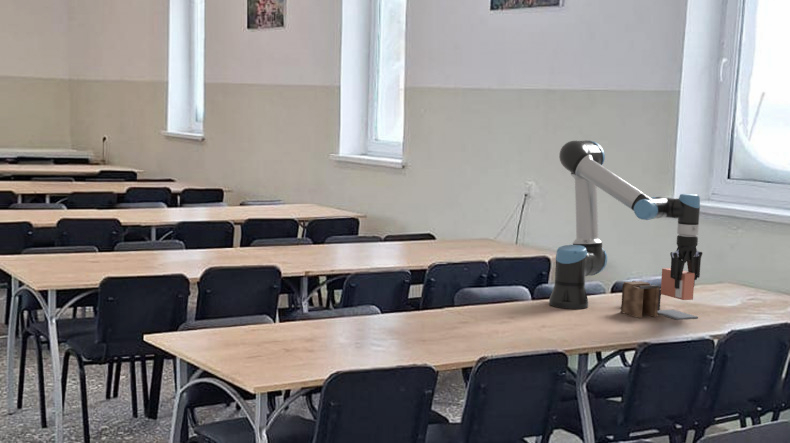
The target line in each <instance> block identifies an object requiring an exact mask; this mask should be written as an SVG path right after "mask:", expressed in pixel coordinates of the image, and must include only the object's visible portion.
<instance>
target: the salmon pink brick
mask: <svg viewBox="0 0 790 443" xmlns="http://www.w3.org/2000/svg"><path fill="white" fill-rule="evenodd" d="M670 275H671V267H668V268H667V267H665V268H664V267H663V268H662V269H661V280H660V281H661V282H660V283H661V285H660V289H661V296H667V297H670V298H674V299H677V300H682V301H693V300H694V291H695V290H694V288H695V283H694V275H695V273H691V272H688V270H683V273H682V277H681V280H682V281H683V282H682V298H679V297H675V291H676V288H675V279H673V278H671V277H670Z"/></svg>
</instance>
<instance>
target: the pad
mask: <svg viewBox="0 0 790 443" xmlns="http://www.w3.org/2000/svg"><path fill="white" fill-rule="evenodd" d="M657 315H660V316H663V317H667V318H670V319H673V320H676V321H677V320H678V321H679V320H691V319H693V320H694V319H699V316H697V315H693V314H690V313H687V312H682V311H680V310H675V309H662V310H658V313H657Z"/></svg>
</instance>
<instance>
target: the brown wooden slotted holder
mask: <svg viewBox="0 0 790 443" xmlns="http://www.w3.org/2000/svg"><path fill="white" fill-rule="evenodd" d="M634 281H635V282H632V281H623V283H622V290H621V304H620V305H621V306H620V307H621V308H620V313H622V312H623V313H622V314H625V313H626V315H628V314H629V315H628V316H632V317H635V318H638V319H642V318H643V315H647V316H650V317H654V318H658V314H657V313H658V297H659V288H660V285H658V284H652V285H651V284H650V283H649V282H647V281H641V280H639V281H638V280H637V281H636V280H634ZM646 282H647V283H646Z"/></svg>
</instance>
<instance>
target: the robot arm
mask: <svg viewBox="0 0 790 443" xmlns="http://www.w3.org/2000/svg"><path fill="white" fill-rule="evenodd" d="M605 158H606V154H605V151H604V148H603V147H602V145H601V144H599V143H598V142H596V141H592V140H570V141H568V142H566V143H565V144H564V145H563V146H561V148H560V150H559V162H560V163H561V165H562V167H564V168H565V169H566V170H568V171H569V172H570V176H572V178H574V179H573V180H574V191H575V193H574V194H575V196H574V197H575V229H576V235H575V236H576V238H575V239H574V240H573V242H572V244H568V245H566V244H564V245H561V246H560V247H558V248H557V249H556V254H555V272H554V286H553V289H552V291H551V294H550V296H549V301H548V305H549V306H551V307H555V308H560V309H570V310H578V309H579V310H580V309H581V310H582V309H583V310H584V309H586V308H588V307H589V300H588V299H589V298H588V295H587V291H586V288H585V286H586V277H591V276H595V275H597V274H599V273H600V274H601V272H603V270H604V269H605V268H606V266H607V263H608V255H607V252H606V250H604V248H603V241H602V240H601V239H600V238H599V224H598V222H599V221H598V220H599V219H598V217H599V216H598V214H599V213H598V188H599V189H600V190H602V191H603V192H605V193H606V194H608V195H609V196H611V197H612V198H613V199H615V200H617V201H618V202H619V203H621V204H622V205H624V206H626V207H628V208H629V209H630V210H631V211H633V213H634V214H635V217H637V218H638V219H639V220H644V221H649V220H651V221H652V220H655V219H662V218H665V219H667V218H668V219H677V228H676V229H677V230H676V232H677V235H676V245H677V248H676V250H675V251H671V252H670V258H671V259H670V260H671V261H670V268H671V275H670V277H671V278H673V279H675V288H676V291H675V297H679V298H682V282H683V281H682V280H681V277H682V273H683V271H684V269H685V264H687V272H691V273H695V275H694V284H695V281H697V279H699V278H700V275H701V261H702V260H701V259H702V256H703V252H702V251H699V250H697V246H698V244H699V243H698V242H699V237H698V235H699V225H700V223H699V222H700V213H701V212H700V211H701V210H700V209H701V197H700V196H699V194H695V193H680V194H679V197H678V198H672V197H671V198H670V197H662V196H651V197H650V196H649V195H647V194H645V193H644V191H643V192H642V191H641V190H640V189H638V188H637V187H635V186H633V185H632V184H630V183H629V182H628V181H626V180H625V179H622V178H621V177H620V176H619V175H617V174H615V173H614V172H612V171H611V170H610V169H607V167H605V166H603V164H604V162H605Z"/></svg>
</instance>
